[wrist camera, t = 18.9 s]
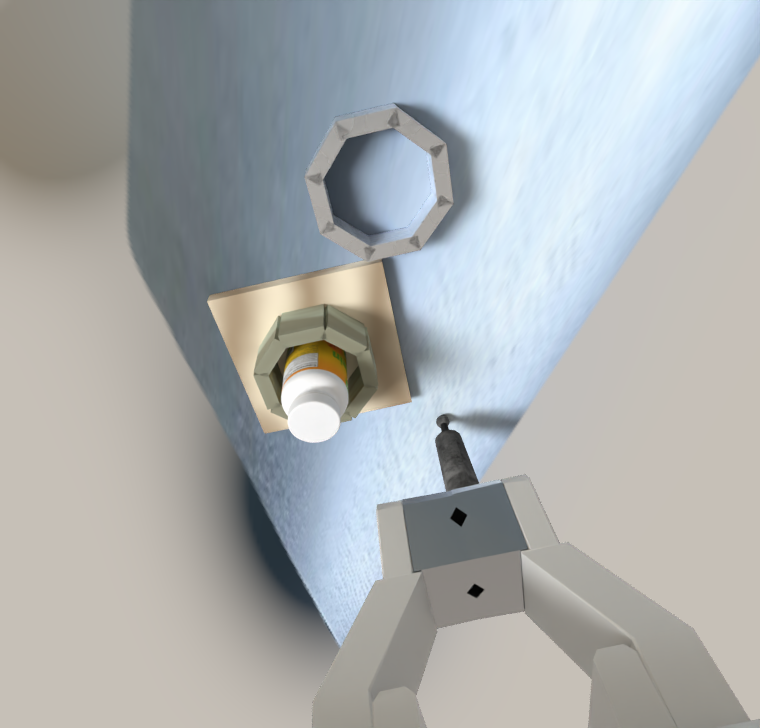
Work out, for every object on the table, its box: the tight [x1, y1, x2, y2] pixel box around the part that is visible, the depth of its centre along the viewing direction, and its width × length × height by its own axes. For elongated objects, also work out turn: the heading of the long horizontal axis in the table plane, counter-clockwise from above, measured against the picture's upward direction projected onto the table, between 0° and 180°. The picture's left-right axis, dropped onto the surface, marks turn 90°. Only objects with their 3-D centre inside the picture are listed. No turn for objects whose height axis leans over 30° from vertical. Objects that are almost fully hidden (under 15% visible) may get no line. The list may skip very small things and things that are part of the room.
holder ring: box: [305, 103, 454, 262], centre depth 39 cm, size 10×10×2 cm
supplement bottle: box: [281, 340, 348, 443], centre depth 42 cm, size 5×5×10 cm
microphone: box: [435, 416, 479, 492], centre depth 45 cm, size 7×7×20 cm
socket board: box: [207, 259, 412, 433], centre depth 45 cm, size 15×15×5 cm
